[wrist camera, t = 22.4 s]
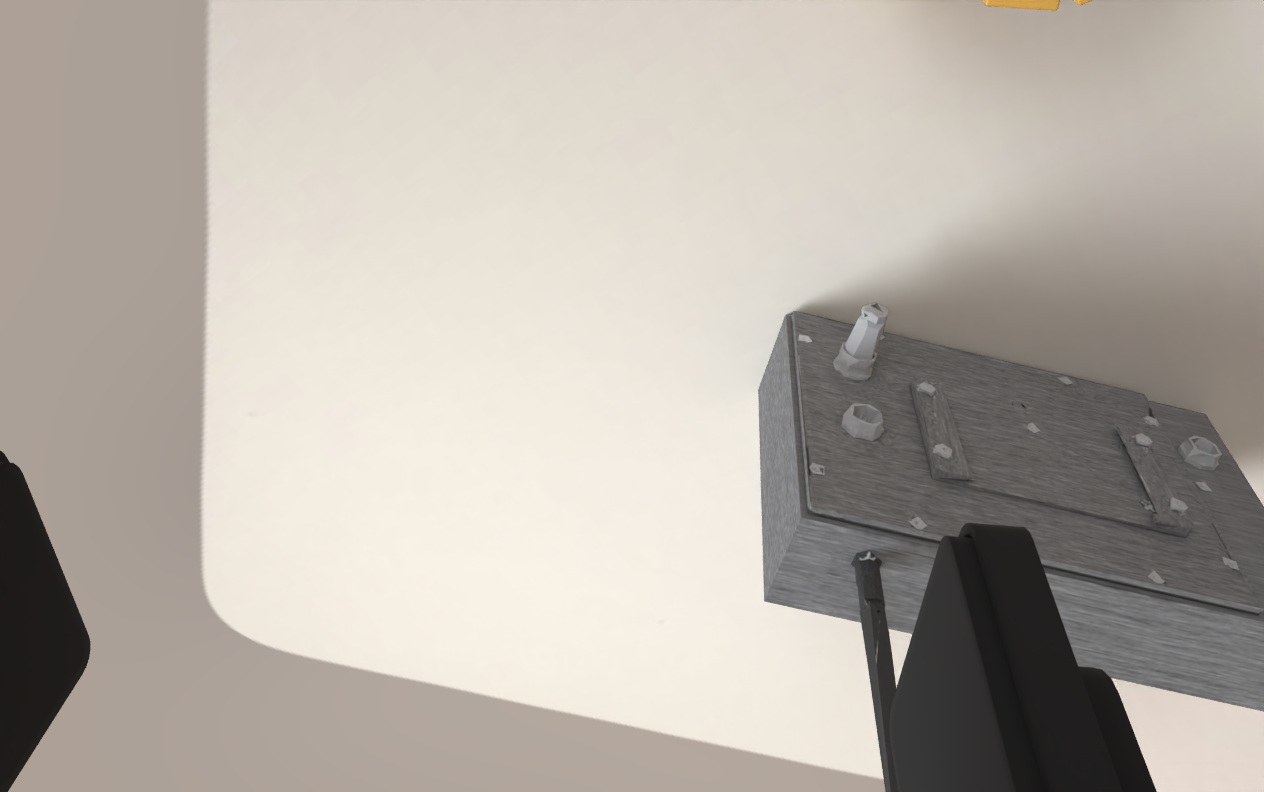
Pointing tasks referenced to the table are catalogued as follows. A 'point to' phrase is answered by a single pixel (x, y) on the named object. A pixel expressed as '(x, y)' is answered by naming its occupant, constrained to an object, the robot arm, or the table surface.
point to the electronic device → (1006, 504)
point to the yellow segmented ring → (1029, 4)
